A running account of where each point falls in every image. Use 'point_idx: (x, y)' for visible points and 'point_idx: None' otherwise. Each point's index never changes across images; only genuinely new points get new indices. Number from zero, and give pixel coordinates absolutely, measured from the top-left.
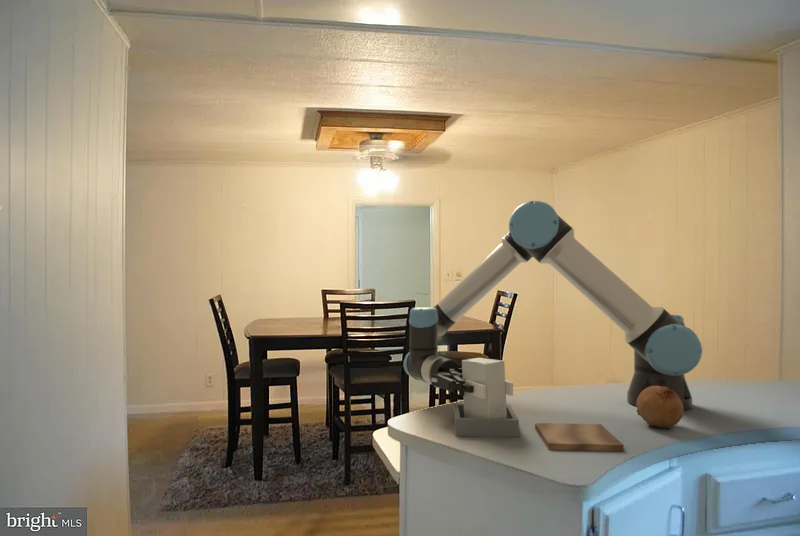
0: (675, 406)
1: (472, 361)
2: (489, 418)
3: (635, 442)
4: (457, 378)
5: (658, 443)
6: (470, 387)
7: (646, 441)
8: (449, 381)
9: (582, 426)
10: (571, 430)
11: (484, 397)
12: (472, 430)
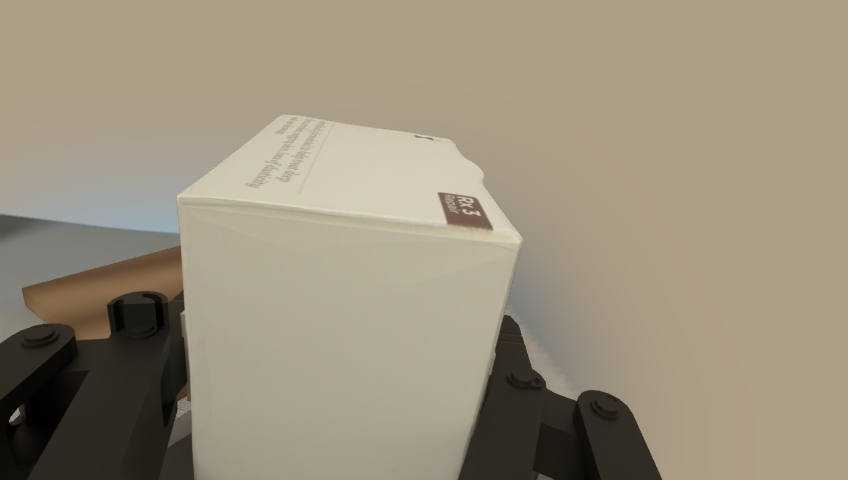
0: None
1: (478, 173)
2: None
3: (130, 249)
4: (518, 465)
5: (107, 232)
6: (503, 321)
7: (104, 242)
8: (638, 442)
9: (98, 301)
10: None
11: None
12: None
